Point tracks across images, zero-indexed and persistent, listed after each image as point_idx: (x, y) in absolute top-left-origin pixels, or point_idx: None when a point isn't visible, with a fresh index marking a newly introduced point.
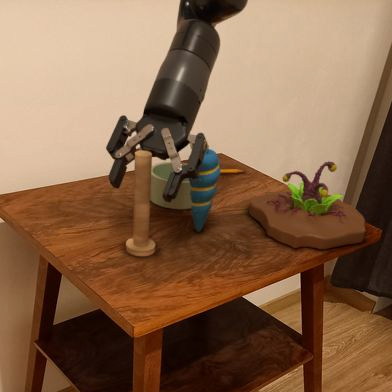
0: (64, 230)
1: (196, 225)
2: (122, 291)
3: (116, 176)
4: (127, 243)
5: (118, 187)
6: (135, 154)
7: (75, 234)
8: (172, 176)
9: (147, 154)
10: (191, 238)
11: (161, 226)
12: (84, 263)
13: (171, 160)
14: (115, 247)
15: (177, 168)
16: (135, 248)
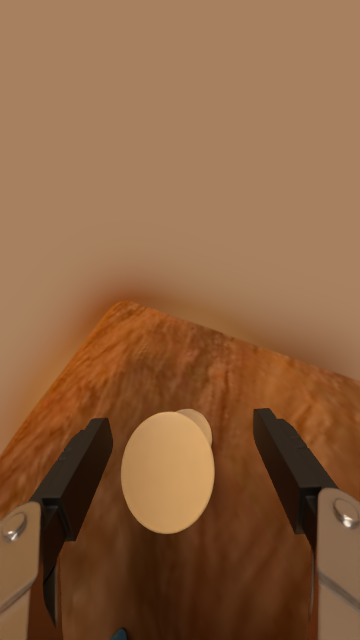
0: (321, 416)
1: (118, 637)
2: (155, 330)
3: (263, 425)
4: (204, 421)
5: (255, 438)
6: (194, 422)
7: (297, 415)
8: (58, 479)
9: (141, 462)
10: (126, 565)
11: (209, 589)
12: (223, 352)
13: (31, 576)
14: (221, 415)
15: (14, 517)
16: (185, 413)
